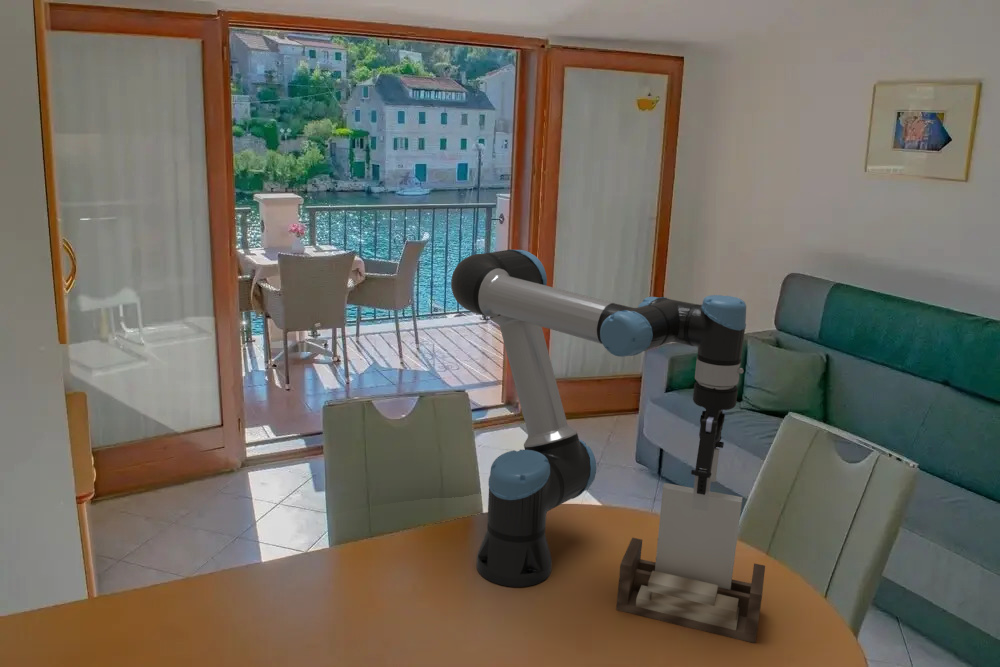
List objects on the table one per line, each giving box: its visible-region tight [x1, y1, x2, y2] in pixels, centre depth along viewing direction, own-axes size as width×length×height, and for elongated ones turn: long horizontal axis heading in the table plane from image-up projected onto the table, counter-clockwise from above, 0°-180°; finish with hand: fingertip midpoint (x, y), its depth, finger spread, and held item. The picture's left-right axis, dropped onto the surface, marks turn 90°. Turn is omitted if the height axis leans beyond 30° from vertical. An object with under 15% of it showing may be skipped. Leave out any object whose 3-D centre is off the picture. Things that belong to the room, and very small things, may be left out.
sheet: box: [655, 482, 743, 590], centre depth 152 cm, size 14×2×22 cm, turn 70°
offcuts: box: [636, 571, 739, 630], centre depth 150 cm, size 18×5×5 cm, turn 70°
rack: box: [615, 537, 766, 644], centre depth 153 cm, size 25×11×10 cm, turn 70°
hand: (704, 494), depth 150 cm, fingers open, 13 cm apart
